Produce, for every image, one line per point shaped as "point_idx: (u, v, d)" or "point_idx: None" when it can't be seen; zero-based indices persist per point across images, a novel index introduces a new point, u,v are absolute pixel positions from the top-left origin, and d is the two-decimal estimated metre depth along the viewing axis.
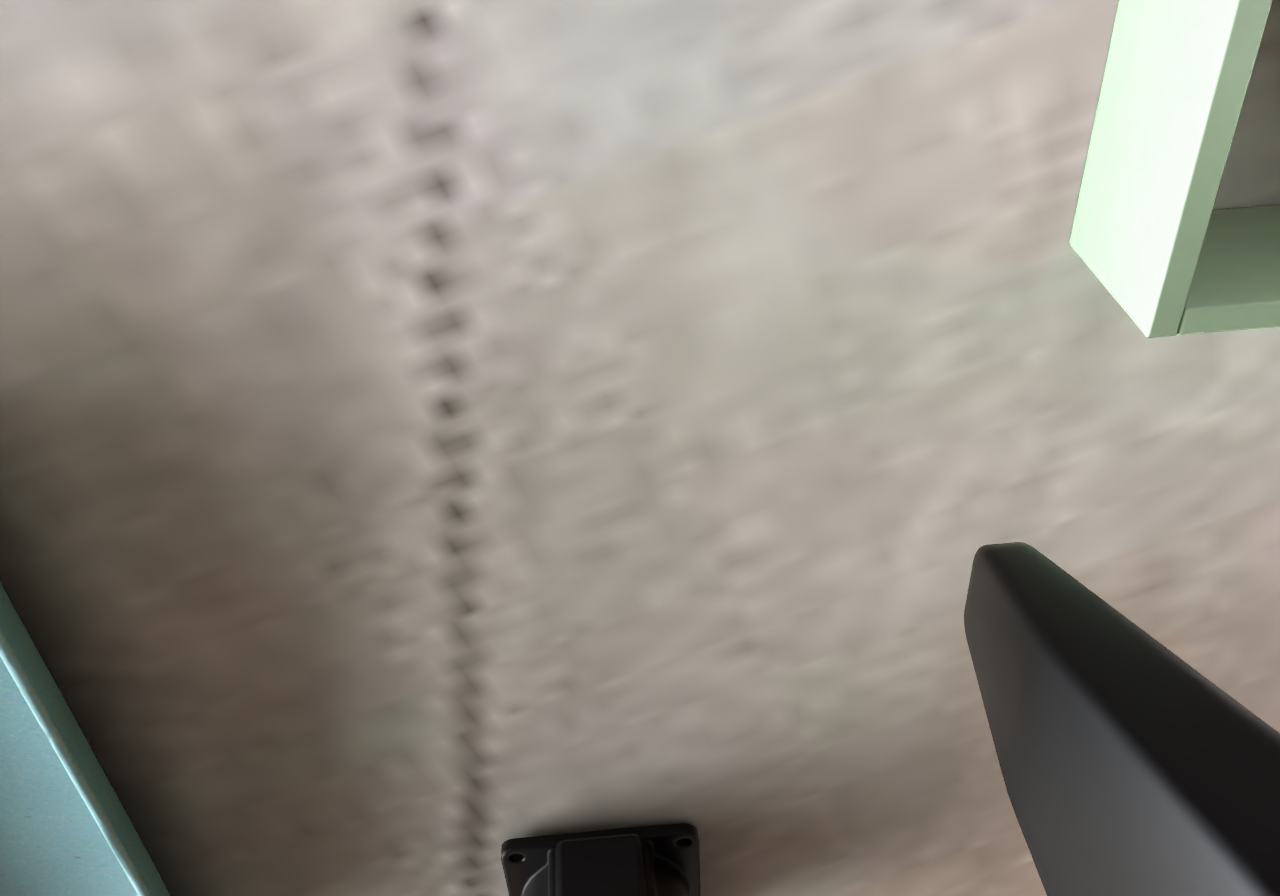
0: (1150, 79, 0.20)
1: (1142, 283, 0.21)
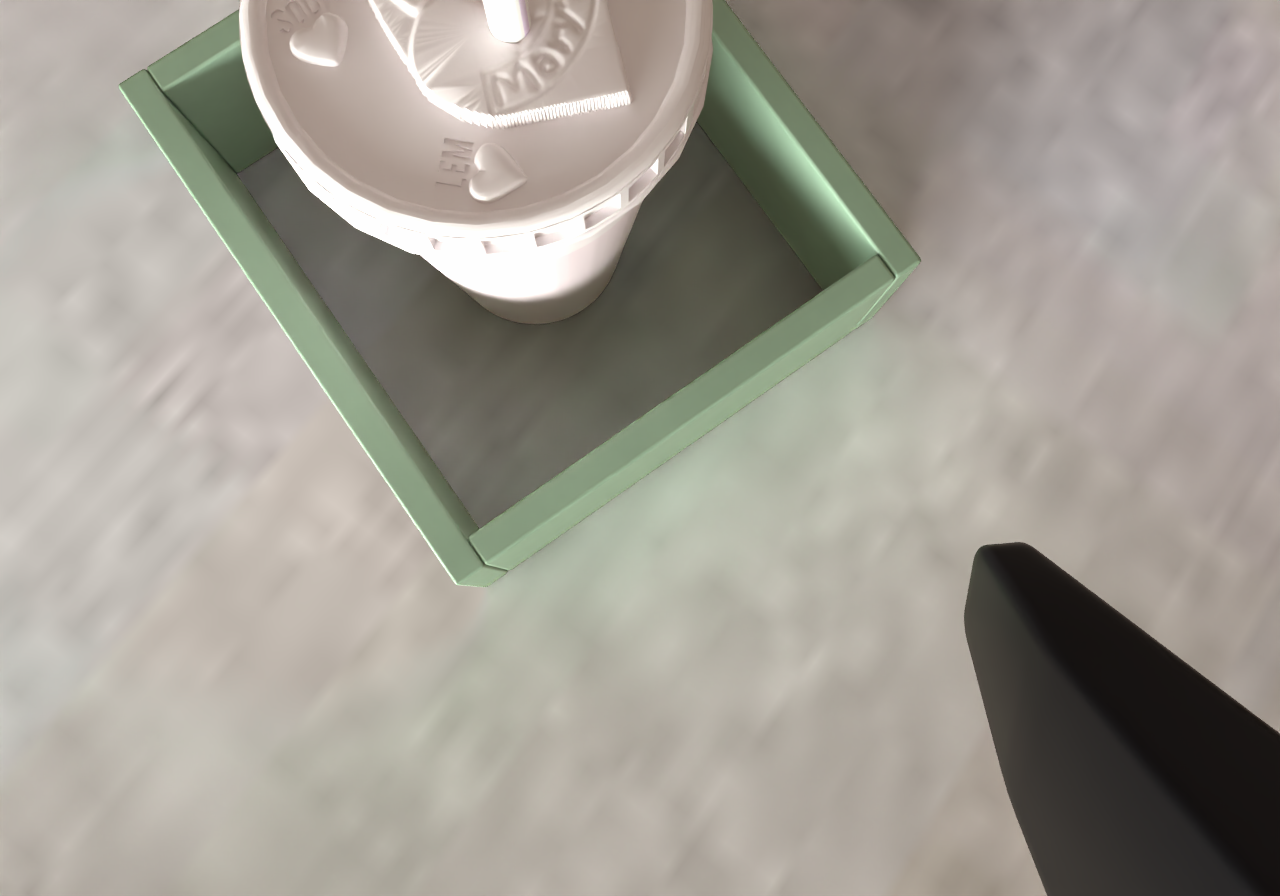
0: None
1: None
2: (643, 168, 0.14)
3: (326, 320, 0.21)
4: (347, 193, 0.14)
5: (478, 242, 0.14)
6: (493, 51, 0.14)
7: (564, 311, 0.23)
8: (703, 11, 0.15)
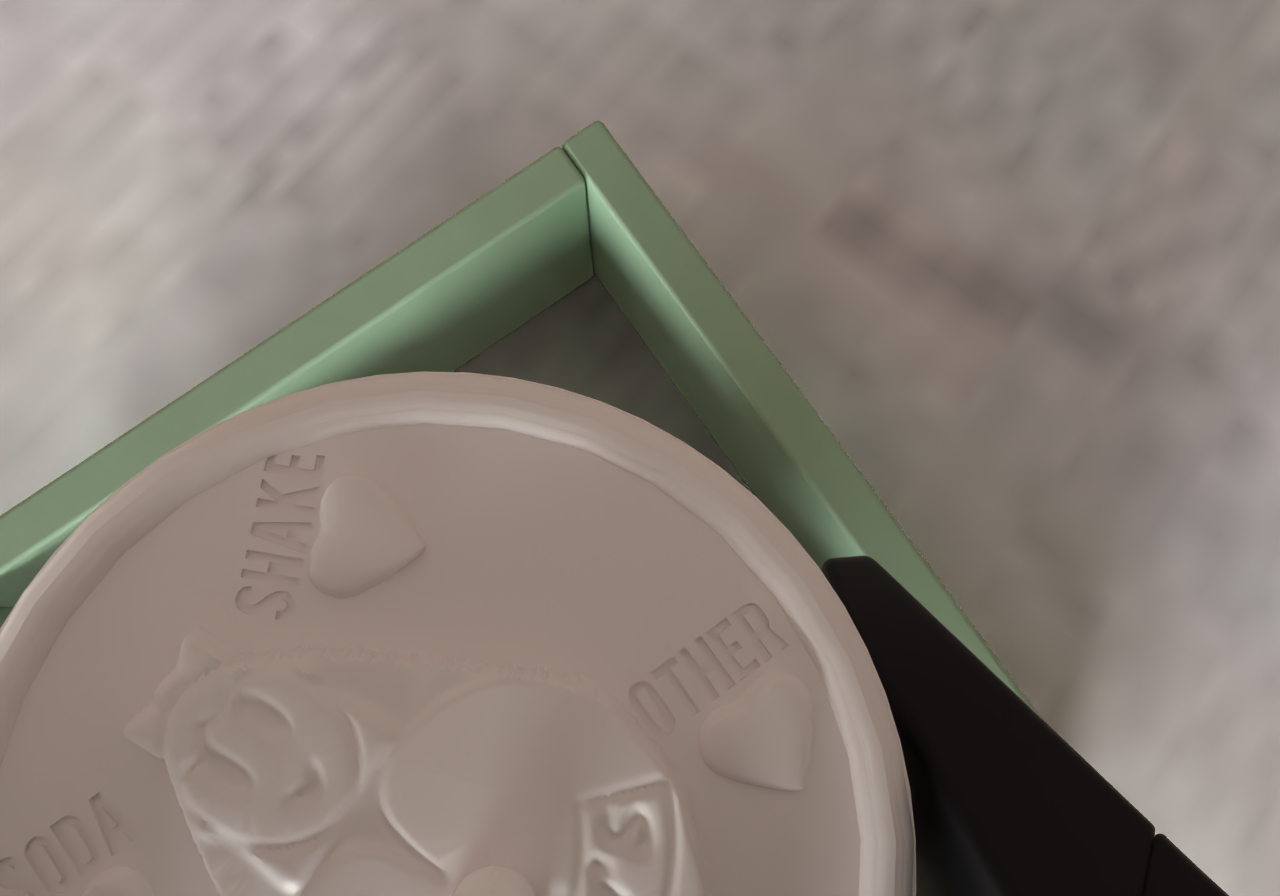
0: None
1: None
2: None
3: None
4: None
5: None
6: None
7: None
8: (898, 860, 0.07)
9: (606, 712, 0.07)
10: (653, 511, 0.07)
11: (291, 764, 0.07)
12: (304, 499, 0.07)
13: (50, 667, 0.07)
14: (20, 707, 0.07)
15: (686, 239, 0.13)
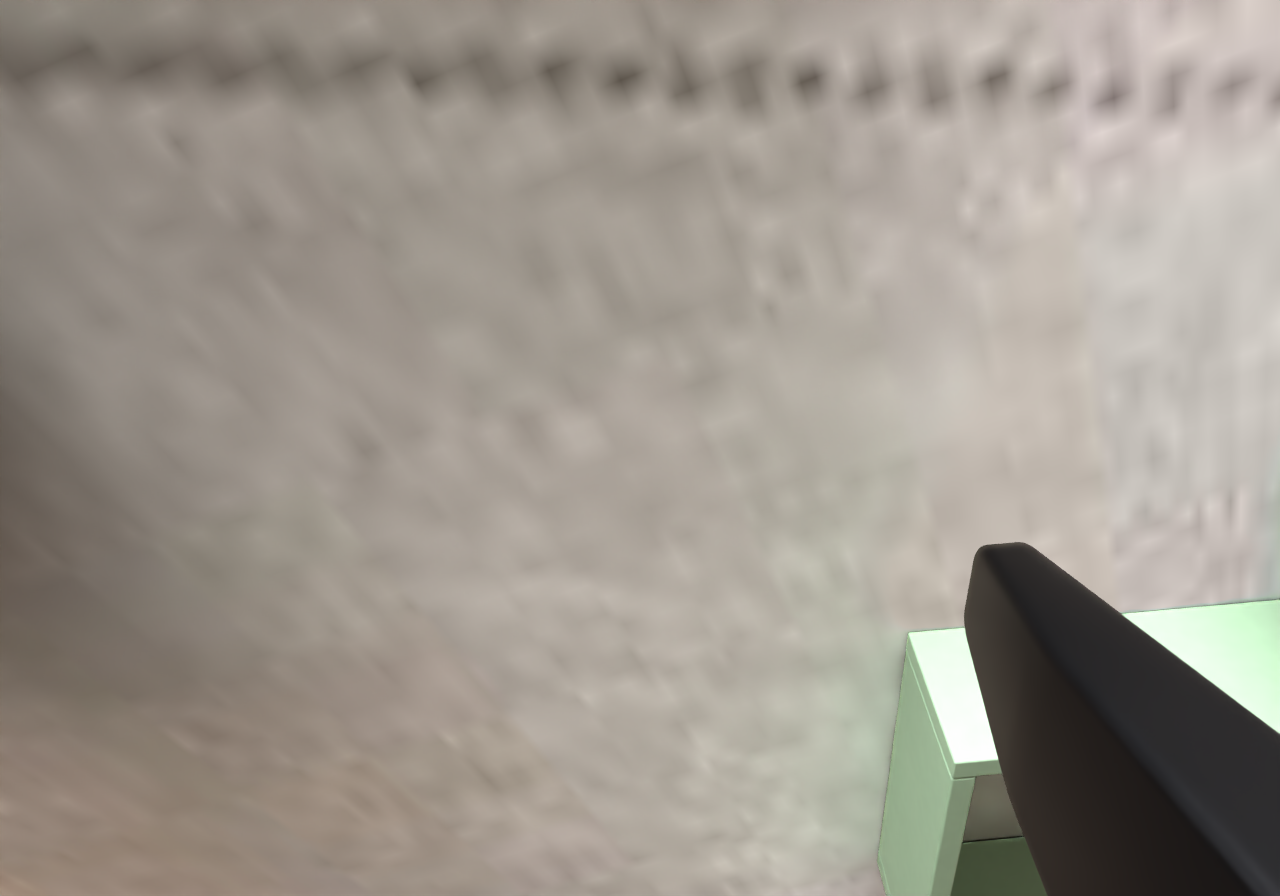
0: None
1: (983, 736, 0.25)
2: None
3: None
4: None
5: None
6: None
7: None
8: None
9: None
10: None
11: None
12: None
13: None
14: None
15: None
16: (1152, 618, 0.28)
